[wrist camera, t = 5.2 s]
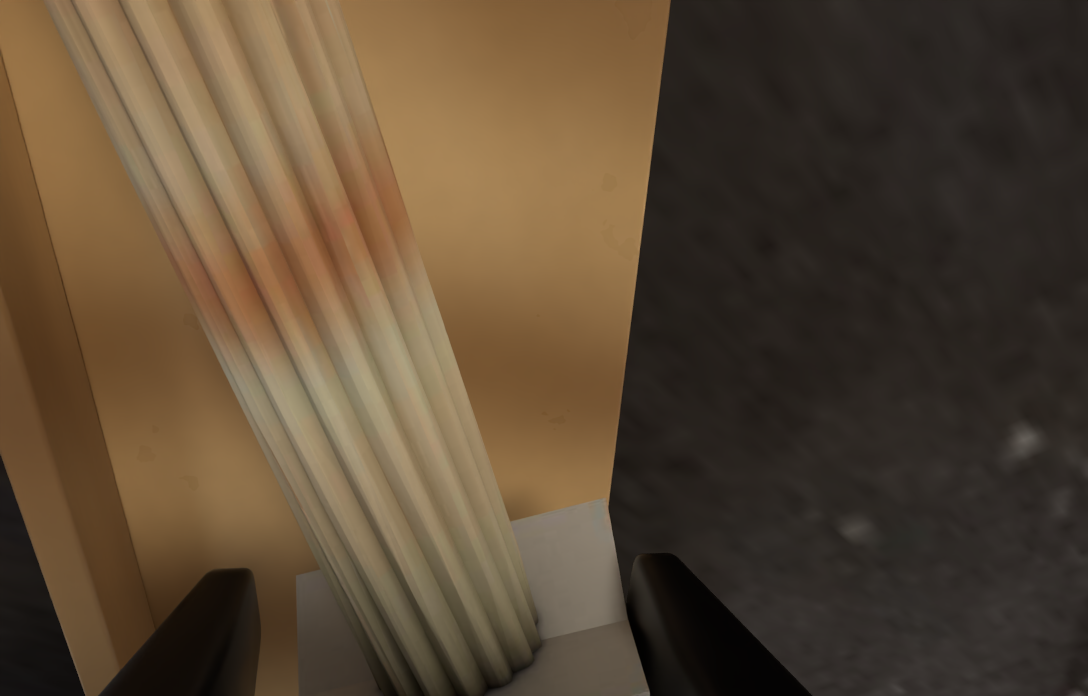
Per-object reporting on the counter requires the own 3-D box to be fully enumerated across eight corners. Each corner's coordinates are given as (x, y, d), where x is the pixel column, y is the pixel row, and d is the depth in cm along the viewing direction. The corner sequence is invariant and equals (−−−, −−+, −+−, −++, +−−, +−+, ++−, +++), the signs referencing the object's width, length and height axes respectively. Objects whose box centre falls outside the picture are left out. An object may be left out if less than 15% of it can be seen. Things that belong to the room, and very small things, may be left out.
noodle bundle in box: (497, 1181, 13) (-930, -1048, 3) (489, 974, 15) (-307, -632, 5) (753, 1123, 13) (197, -1359, 3) (704, 925, 15) (310, -793, 5)
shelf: (534, 587, 25) (579, 902, 18) (246, 602, 24) (171, 943, 17) (616, -601, 12) (884, -1168, 5) (14, -677, 11) (-699, -1519, 4)
